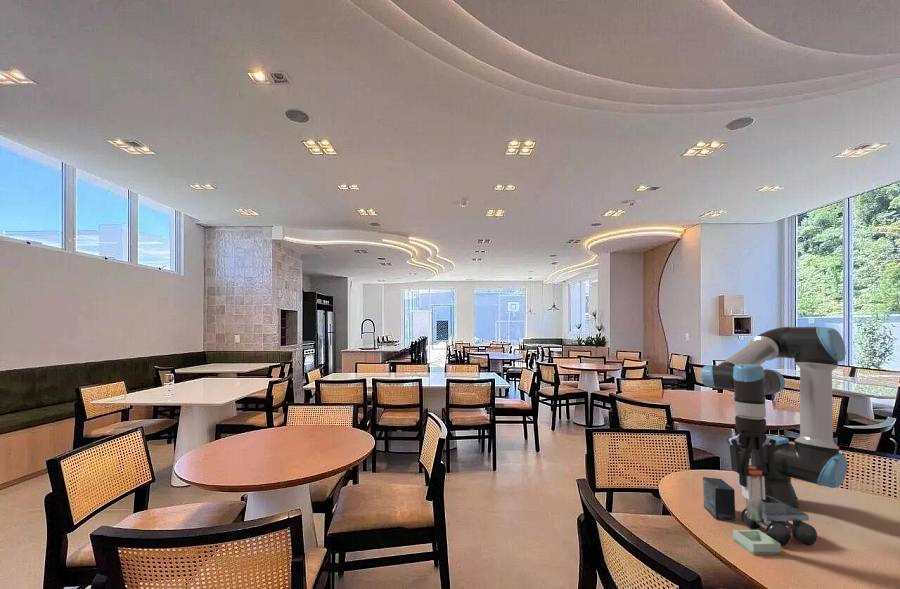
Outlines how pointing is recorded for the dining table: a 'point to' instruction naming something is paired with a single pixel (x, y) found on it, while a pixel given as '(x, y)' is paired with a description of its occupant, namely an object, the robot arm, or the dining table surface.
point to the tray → (757, 542)
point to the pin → (755, 494)
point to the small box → (719, 499)
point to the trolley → (782, 522)
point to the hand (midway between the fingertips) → (753, 497)
